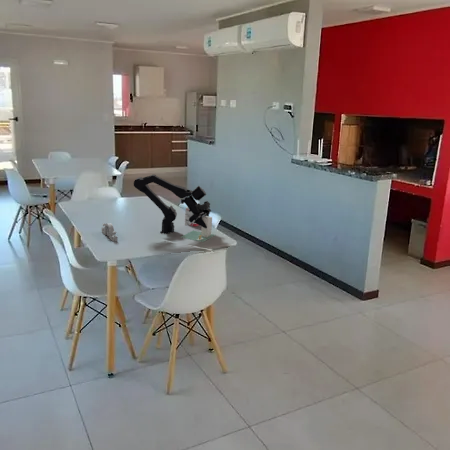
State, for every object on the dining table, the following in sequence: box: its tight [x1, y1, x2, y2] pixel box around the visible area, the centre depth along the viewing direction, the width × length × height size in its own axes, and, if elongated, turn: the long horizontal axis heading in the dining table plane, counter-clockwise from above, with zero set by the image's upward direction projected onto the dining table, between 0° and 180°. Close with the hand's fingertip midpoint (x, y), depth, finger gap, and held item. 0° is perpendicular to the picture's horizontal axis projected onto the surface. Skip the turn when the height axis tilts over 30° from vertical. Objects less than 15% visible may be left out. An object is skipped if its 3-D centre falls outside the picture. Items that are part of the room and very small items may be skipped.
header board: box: [179, 230, 216, 243], centre depth 269 cm, size 15×17×3 cm
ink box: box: [184, 206, 200, 227], centre depth 292 cm, size 8×5×12 cm, turn 55°
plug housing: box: [200, 215, 213, 237], centre depth 270 cm, size 4×6×11 cm, turn 157°
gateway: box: [101, 222, 118, 242], centre depth 260 cm, size 20×2×8 cm, turn 32°
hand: (208, 226), depth 269 cm, fingers closed on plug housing, 6 cm apart
